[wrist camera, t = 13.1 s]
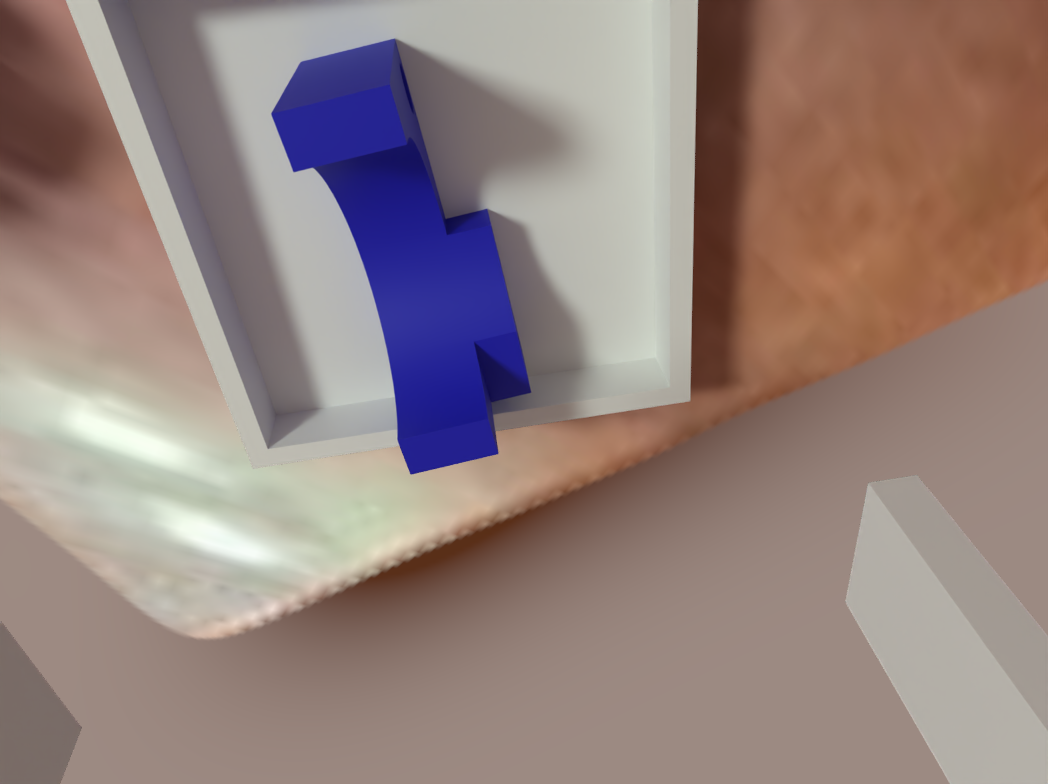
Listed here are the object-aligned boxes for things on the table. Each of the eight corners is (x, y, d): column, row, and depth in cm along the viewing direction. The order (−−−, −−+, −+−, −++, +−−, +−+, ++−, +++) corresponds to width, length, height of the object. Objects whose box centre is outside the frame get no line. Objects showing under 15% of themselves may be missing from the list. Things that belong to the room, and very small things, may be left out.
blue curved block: (522, 350, 31) (542, 443, 26) (411, 376, 31) (410, 474, 26) (442, 26, 24) (449, 69, 19) (300, 61, 24) (271, 114, 19)
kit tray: (670, -121, 23) (700, -119, 21) (669, 360, 33) (690, 401, 30) (92, -45, 23) (52, -33, 20) (265, 422, 32) (252, 468, 30)
